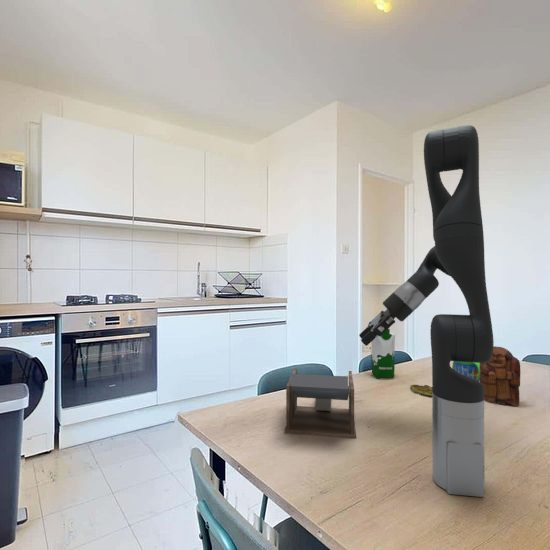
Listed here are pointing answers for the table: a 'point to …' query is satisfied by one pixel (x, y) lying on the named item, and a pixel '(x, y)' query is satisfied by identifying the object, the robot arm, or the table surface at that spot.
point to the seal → (422, 390)
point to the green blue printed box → (468, 369)
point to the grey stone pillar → (323, 404)
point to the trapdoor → (320, 386)
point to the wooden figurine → (501, 378)
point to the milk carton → (383, 355)
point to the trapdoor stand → (319, 417)
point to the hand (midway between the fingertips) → (362, 340)
